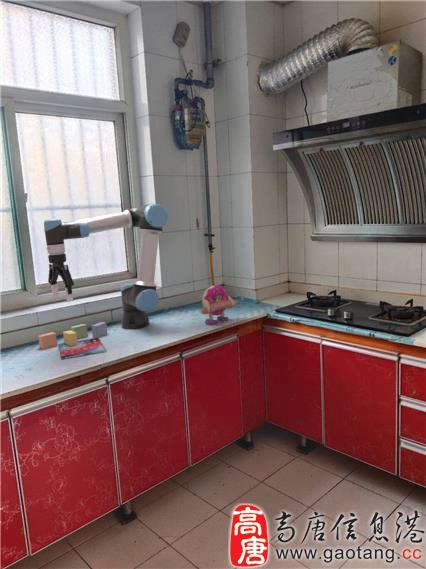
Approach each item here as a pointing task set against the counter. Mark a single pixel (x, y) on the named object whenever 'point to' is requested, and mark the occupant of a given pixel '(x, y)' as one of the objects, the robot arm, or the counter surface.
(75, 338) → the mustard brick
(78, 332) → the green brick
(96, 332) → the slate brick
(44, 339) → the terracotta brick
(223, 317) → the toy
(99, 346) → the magazine
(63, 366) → the counter surface
